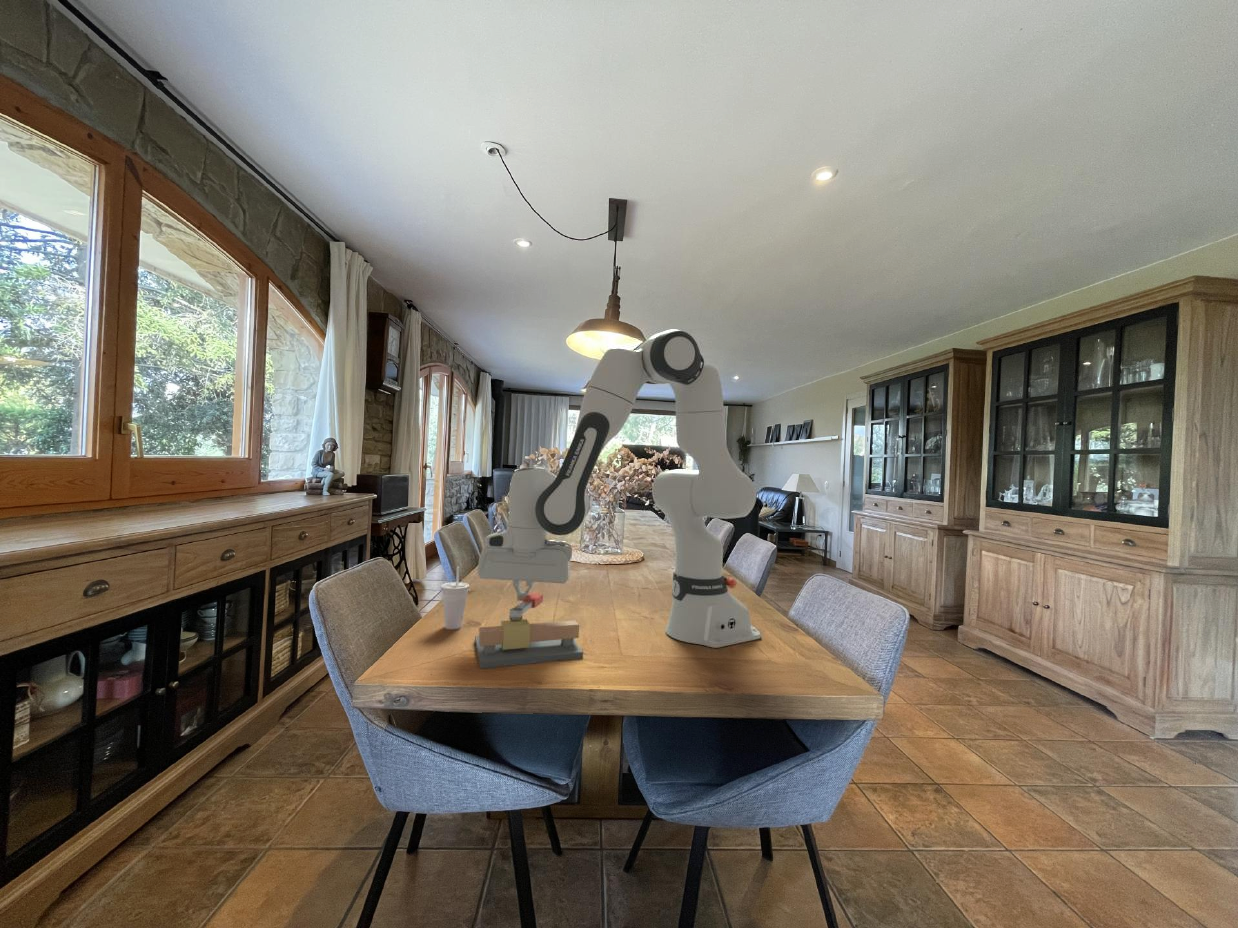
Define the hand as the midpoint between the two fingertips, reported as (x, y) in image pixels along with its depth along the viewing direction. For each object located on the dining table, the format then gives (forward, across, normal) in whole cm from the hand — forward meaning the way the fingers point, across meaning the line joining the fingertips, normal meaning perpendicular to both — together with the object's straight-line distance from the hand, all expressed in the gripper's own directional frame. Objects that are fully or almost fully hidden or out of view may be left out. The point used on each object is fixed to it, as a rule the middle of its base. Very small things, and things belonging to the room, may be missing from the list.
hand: (522, 600), depth 110 cm
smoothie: (+9, +17, -4) cm, 19 cm away
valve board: (+8, -3, +7) cm, 11 cm away
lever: (+1, -2, +5) cm, 5 cm away
